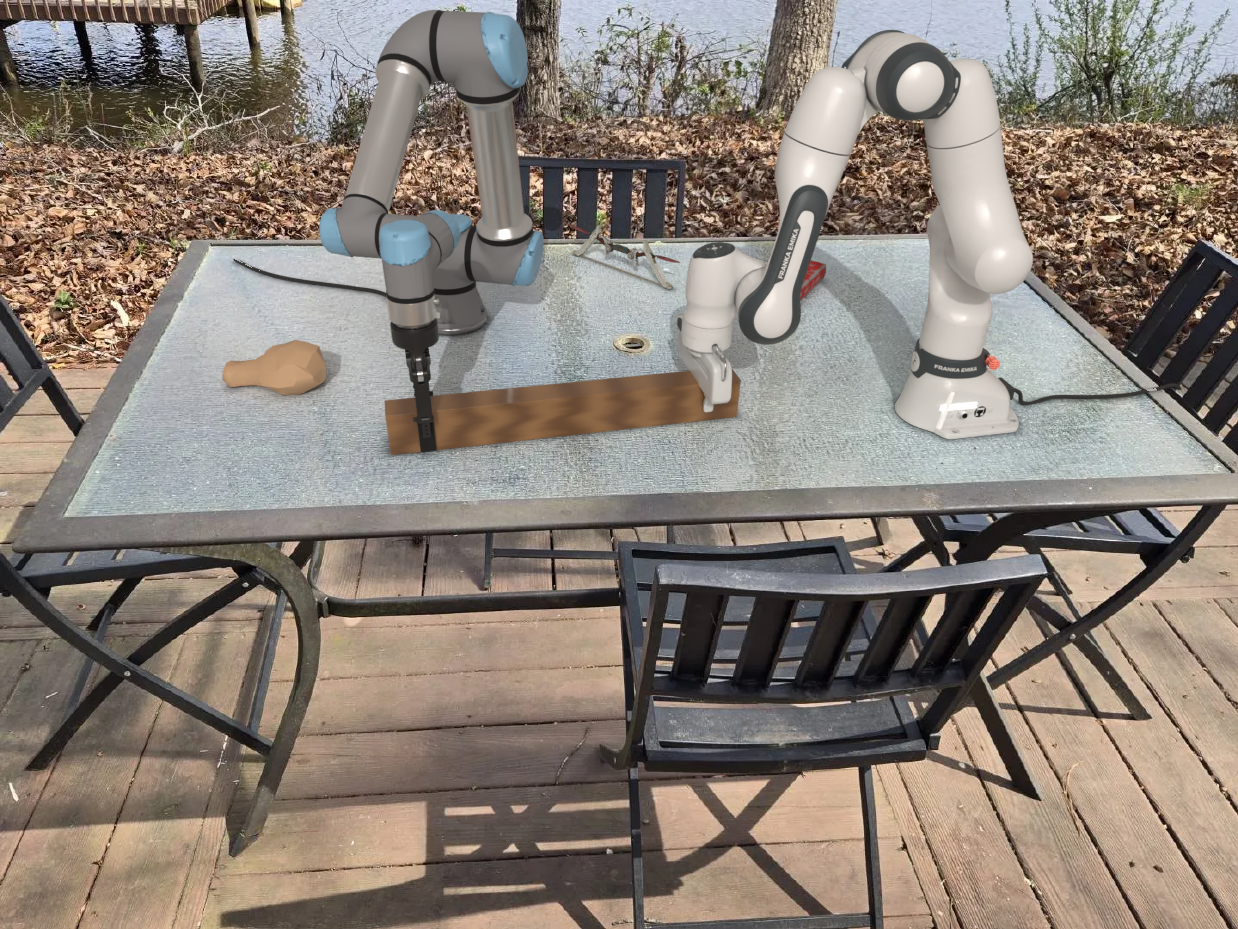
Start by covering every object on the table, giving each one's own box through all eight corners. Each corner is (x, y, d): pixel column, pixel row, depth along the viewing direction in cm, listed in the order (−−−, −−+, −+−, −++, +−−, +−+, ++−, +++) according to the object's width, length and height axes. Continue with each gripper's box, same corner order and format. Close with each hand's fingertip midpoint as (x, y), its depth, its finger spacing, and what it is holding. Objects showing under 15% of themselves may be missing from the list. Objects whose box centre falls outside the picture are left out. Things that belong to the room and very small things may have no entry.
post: (390, 455, 151) (385, 415, 147) (389, 439, 156) (384, 400, 151) (736, 417, 165) (741, 379, 161) (726, 402, 169) (730, 366, 165)
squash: (325, 401, 166) (308, 363, 160) (224, 409, 168) (204, 372, 162) (338, 366, 174) (323, 329, 168) (242, 374, 176) (223, 338, 169)
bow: (681, 290, 215) (684, 251, 209) (676, 292, 214) (679, 253, 208) (570, 250, 236) (570, 213, 230) (565, 252, 235) (565, 215, 229)
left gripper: (441, 342, 135) (453, 467, 148) (432, 295, 150) (444, 412, 163) (391, 346, 133) (408, 472, 146) (387, 298, 148) (403, 416, 161)
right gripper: (744, 358, 149) (736, 427, 157) (705, 309, 165) (699, 374, 173) (709, 361, 148) (702, 431, 155) (673, 312, 164) (669, 377, 172)
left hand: (427, 440), depth 155 cm, fingers closed on post, 5 cm apart
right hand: (701, 401), depth 164 cm, fingers closed on post, 5 cm apart
